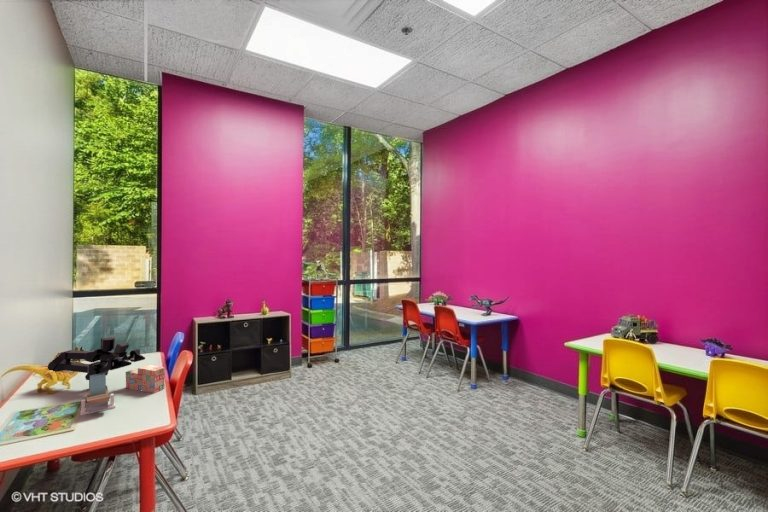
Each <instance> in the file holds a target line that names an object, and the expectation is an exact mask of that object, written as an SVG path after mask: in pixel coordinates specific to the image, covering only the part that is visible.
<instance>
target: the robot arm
mask: <svg viewBox="0 0 768 512" xmlns="http://www.w3.org/2000/svg"><path fill="white" fill-rule="evenodd" d="M129 347H130V344H129V343H128V342H125V341H124V342H123V341H122V342H119V343H117V344H116V338H115V337H113V336H111V337H103V338H100V348H97V349H95V350H72V349H69V350H66V351H62V352H61V353H60V354H58V356H57V357H55V358H54V359H52V360H51V361H50V362H49V363H48V365H47V370H48V369H49V370H53V371H55V372H54V373H58V372H64V371H67V372H76V373H84V374H85V376H84V377H85V380H86V381H88V387H89V388H88V389H86V391H87V390H90V375H95V374H101V373H105V374H106V376H108V375H109V371H113V370H114V371H115V370H117V369H121V368H125V367H127V366H131V365H132V363H136V362H139V361H144V360H146V357H145V356H144V355H142V354H141V350H140V349H138V348H135V349H133V350H131V351H129V355H128V351H127V349H129ZM72 360H84V361H85V362H89V363H82V362H73V361H72ZM49 370H48V371H49ZM106 387H107V388H108V385H106Z"/></svg>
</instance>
